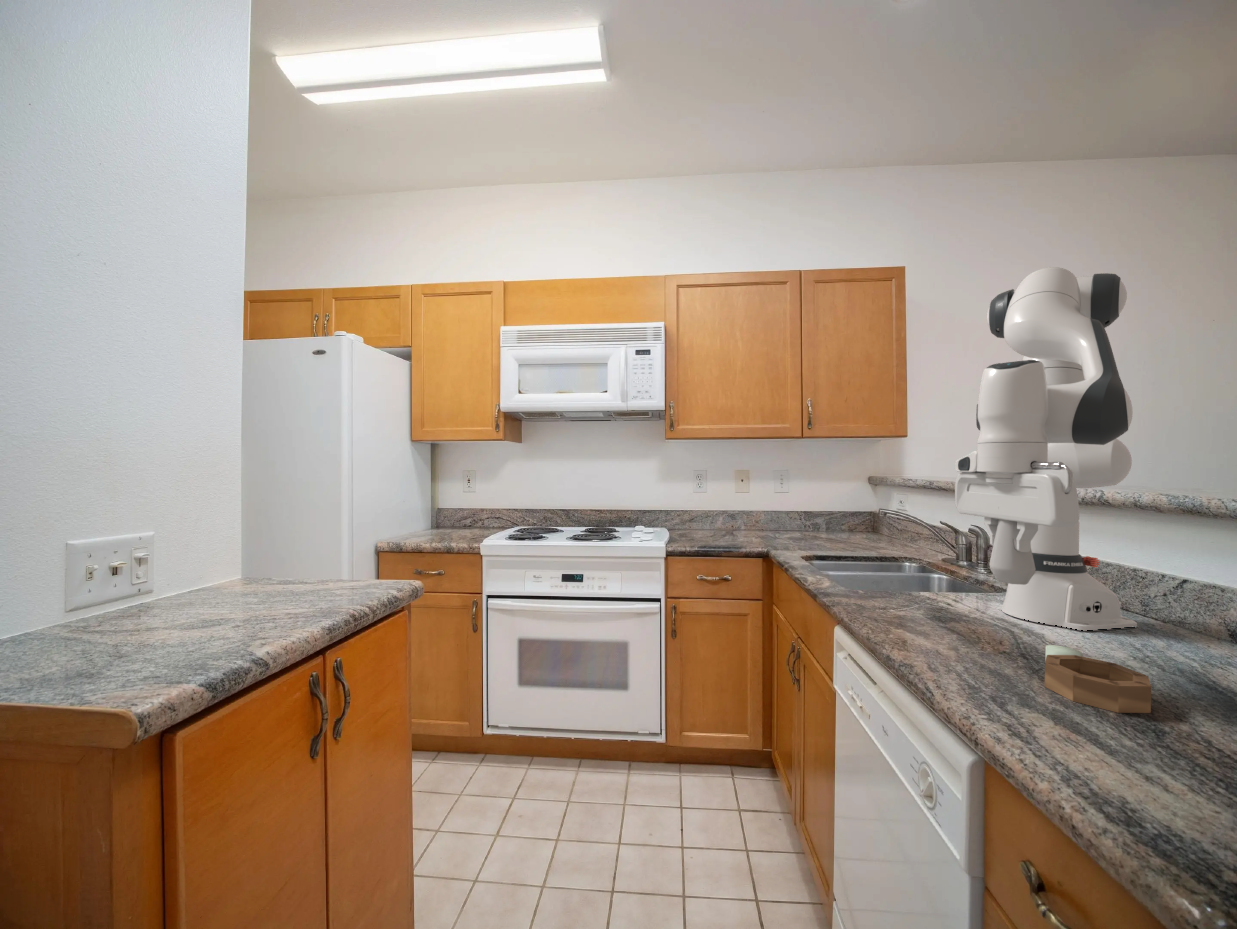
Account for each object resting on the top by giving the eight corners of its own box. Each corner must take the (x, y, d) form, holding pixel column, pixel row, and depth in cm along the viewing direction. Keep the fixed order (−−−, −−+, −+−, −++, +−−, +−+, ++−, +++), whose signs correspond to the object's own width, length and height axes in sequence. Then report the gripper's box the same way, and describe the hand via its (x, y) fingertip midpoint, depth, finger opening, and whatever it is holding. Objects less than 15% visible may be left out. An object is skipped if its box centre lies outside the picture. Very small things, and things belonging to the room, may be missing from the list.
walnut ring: (1094, 678, 75) (1094, 655, 75) (1173, 713, 64) (1174, 686, 64) (1026, 677, 75) (1026, 654, 75) (1095, 712, 64) (1095, 685, 64)
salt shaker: (1044, 587, 75) (1044, 501, 75) (1001, 584, 76) (1001, 500, 76) (1021, 578, 80) (1021, 499, 81) (982, 576, 82) (982, 498, 82)
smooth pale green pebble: (1064, 663, 81) (1064, 645, 81) (1090, 674, 77) (1090, 655, 77) (1037, 663, 81) (1038, 644, 81) (1062, 674, 76) (1063, 655, 76)
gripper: (1094, 461, 68) (1092, 562, 68) (982, 462, 88) (981, 539, 88) (1049, 461, 68) (1047, 561, 68) (948, 461, 88) (946, 538, 88)
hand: (1009, 548), depth 78 cm, fingers closed on salt shaker, 3 cm apart
